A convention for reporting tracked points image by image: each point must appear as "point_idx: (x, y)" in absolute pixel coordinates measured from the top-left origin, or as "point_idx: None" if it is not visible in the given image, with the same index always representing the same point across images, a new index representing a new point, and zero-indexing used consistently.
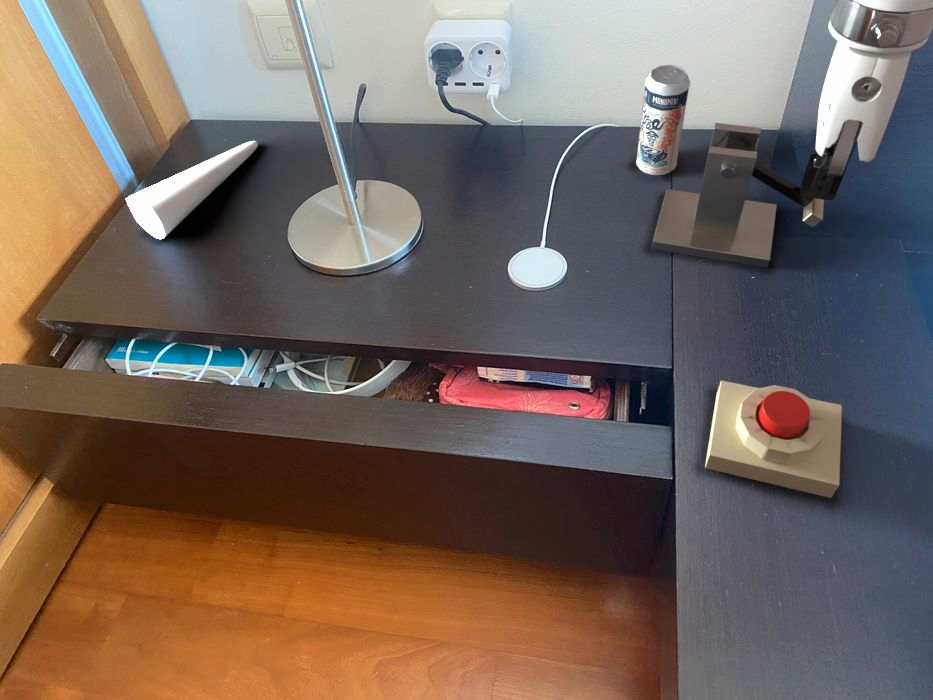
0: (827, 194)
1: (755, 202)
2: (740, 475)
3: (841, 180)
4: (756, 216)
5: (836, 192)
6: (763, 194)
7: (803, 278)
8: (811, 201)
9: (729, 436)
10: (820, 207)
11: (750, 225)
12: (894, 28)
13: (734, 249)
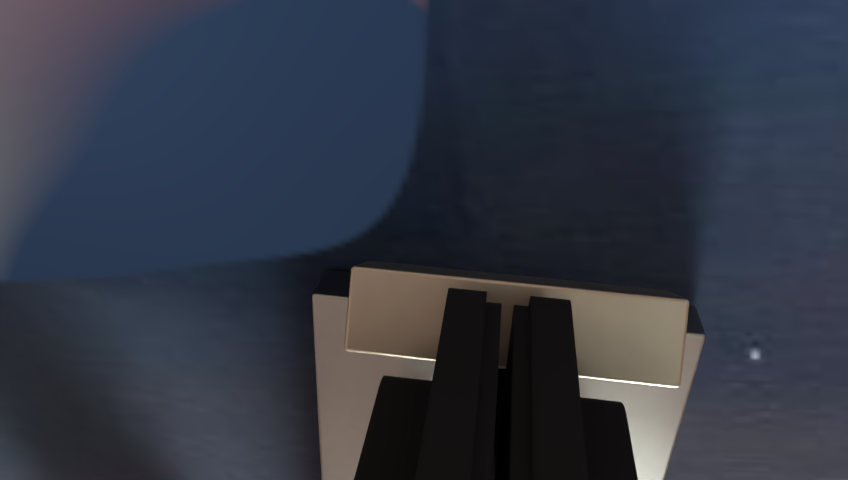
0: (624, 408)
1: (324, 371)
2: None
3: (579, 422)
4: (416, 371)
5: (574, 338)
6: (216, 300)
7: (763, 167)
8: None
9: None
10: (573, 312)
11: None
12: None
13: (643, 449)
